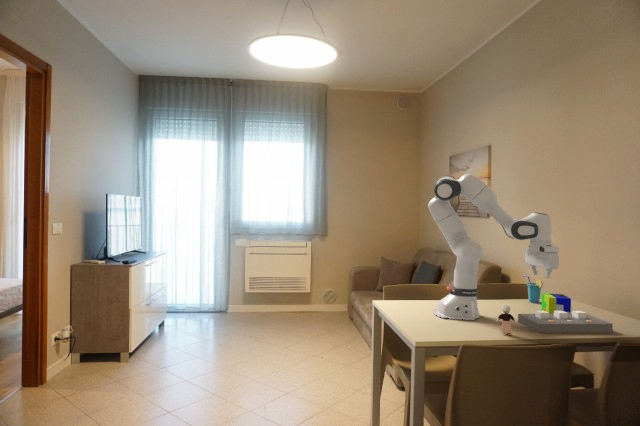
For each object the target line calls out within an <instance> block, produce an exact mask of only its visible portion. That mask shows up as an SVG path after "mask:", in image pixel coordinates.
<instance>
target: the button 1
mask: <svg viewBox="0 0 640 426" xmlns="http://www.w3.org/2000/svg"><path fill="white" fill-rule="evenodd" d="M534 311H535V312H534V314H535V317H537V318H540V319H549V313H548V312H546V311H542V310H534Z"/></svg>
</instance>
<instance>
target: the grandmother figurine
mask: <svg viewBox="0 0 640 426" xmlns="http://www.w3.org/2000/svg"><path fill="white" fill-rule="evenodd" d="M501 310H502V311H503V313H501V314H499V315H498V317H497V319H496V321H495V322H497V323H499V322H500V320H501V333H500V334H501V335H502V334H503V335H502V336H509V335H512V336H513V333H512V322H513V324H514V325H515V324H517V322H516V319H515V317H514V316H513V315H512V314H511V313H510V312H511V307H510V306H509V305H507V304H505V305H503V306H502V307H501ZM511 321H512V322H511ZM507 334H508V335H507Z"/></svg>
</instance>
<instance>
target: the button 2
mask: <svg viewBox="0 0 640 426" xmlns="http://www.w3.org/2000/svg"><path fill="white" fill-rule="evenodd" d="M571 314H572V317H575V318H577V319H586V314H587V312H585V311H582V310H571Z"/></svg>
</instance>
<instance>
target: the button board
mask: <svg viewBox="0 0 640 426" xmlns="http://www.w3.org/2000/svg"><path fill="white" fill-rule="evenodd" d="M517 323H519V324H521V325H522V326H525V327H527V329H528V328H529V329H530V330H532V331H533V332H536V333H538V334H571V333H572V334H585V333H586V334H601V333H602V334H611V333H613V327H614V326H613V323H611V322H609V321H606V320H604V319H601V318H598V317H596V316H593V315H592V314H591V315H590V314H586V319H577V318H575V317H572V313H571V314H568V319H558V318H556V317H554V314H549V319H540V318H537V317H535V313H517Z"/></svg>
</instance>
